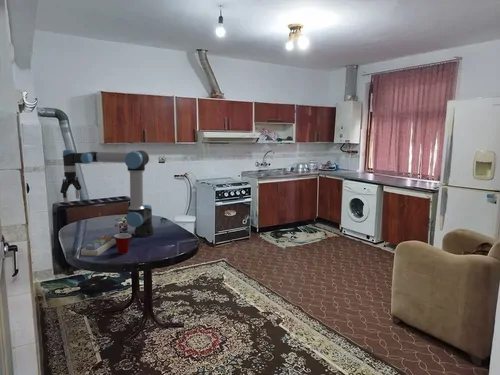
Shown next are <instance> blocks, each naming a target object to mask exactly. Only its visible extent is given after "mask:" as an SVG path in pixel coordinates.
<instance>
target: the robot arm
mask: <svg viewBox="0 0 500 375" xmlns="http://www.w3.org/2000/svg"><path fill="white" fill-rule="evenodd" d="M62 160H63V161H62V162H63V171H64V173H63V175H64V177H65V178H62V182H61V189H60V192H59V193H61V194H62V199H63V203H69V200H68V199H69V198H68V190H69V187H70V186H71V185H72V186H73V187H74V189H75V190H74V191H75V199H81V198H80V197H81V195H80V191H81V189H82V185H81V183H80V180H79V176H77V172H76V170H77V169H76V168H77V167H76V164H85V165H86V164H91V163H122V164H123V163H124V164H125V165H126V167H127V172H129V188H130V189H129V194H130V195H129V196H130V199H129V200H130V205H129V206H128V208H127V209H128V210H127V211H128V213H127V214H126V217H125V221H126V223H127V224H128V225H129V226H130V227H132V228H134V231H133V235H134V236H135V237H139V238H147V237H151V236H154V235H155V234H156V232H155V228H154V226H153V215H152V214H153V213H152V212H153V210H152V208H153V207H152V205H150V204H144V188H143V186H144V184H143V183H144V182H143V180H144V179H143V177H144V176H143V175H144V174H143V173H144V172H146V171H145V170H146V169H145V168H146V165H147V164H149V160H150V156H149V154H148V152H146V151H145V150H132V151H130V152H125V151H123V152H117V151H116V152H115V151H114V152H113V151H109V152H108V151H107V152H106V151H88V152H76V151H75V150H74V149H64V150H62Z"/></svg>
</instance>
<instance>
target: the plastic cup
mask: <svg viewBox="0 0 500 375" xmlns="http://www.w3.org/2000/svg"><path fill="white" fill-rule="evenodd" d="M113 237H114V239H115V241H116V244H115V245H116V248H117V252H118V254H119V255H126V254H128V253H129V248H130V241H131V237H132V234H130V233H118V234H117V233H116V234H114V235H113Z"/></svg>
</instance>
